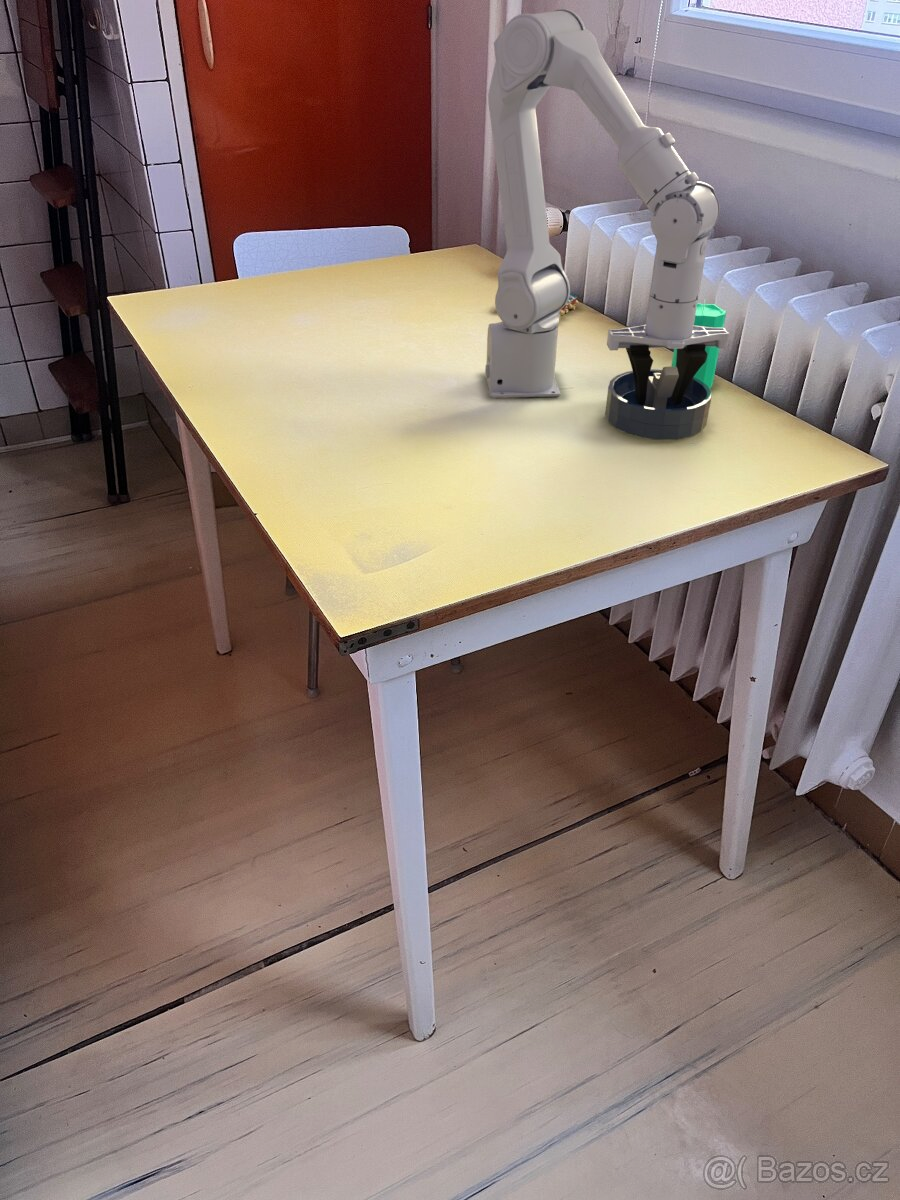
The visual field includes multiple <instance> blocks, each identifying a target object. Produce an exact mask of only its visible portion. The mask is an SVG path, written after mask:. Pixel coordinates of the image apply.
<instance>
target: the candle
mask: <svg viewBox="0 0 900 1200" xmlns="http://www.w3.org/2000/svg"><path fill="white" fill-rule="evenodd" d="M703 300H704V301H703V303H700V302H698V303H697V309H696V315H695V321H694V326H702V327H712V328H725V327H724V326H725V321H726V315H727V310H724V309H722V308H721V307H719V306H718V305H716V304H715V303H706V300H707V297H704V299H703ZM705 351H706V352H707V359H706V362H705V363H704V364H703V365H702V366H701V368H700V369H699V370H698V371H697V373H696V374H695V376H694V378H696V379H698V380H700V381H702V382H703V383H705V384H706V385H707V386H708V387H709V389H710V390H711V388H712V387H713V386H714V385H713V384H714V380H715V374H716V370H717V364H718V359H719V353H720V349H719V348H717V347H705ZM676 359H677V349H673V354H672V360H671V365H670V367H676Z"/></svg>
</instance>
